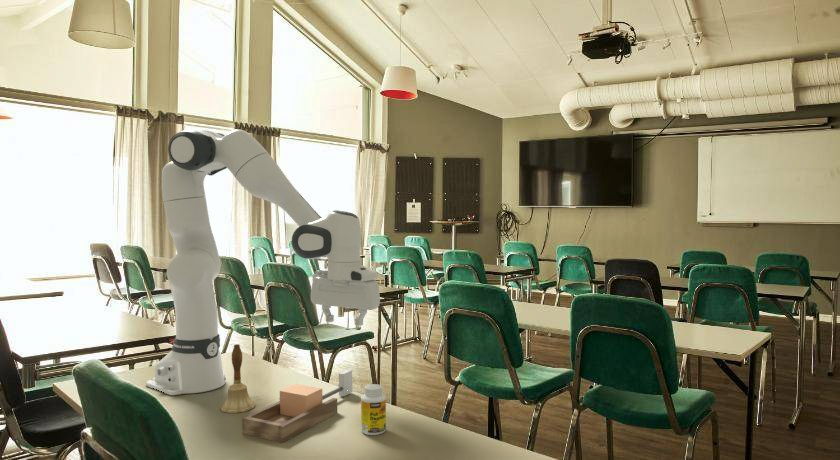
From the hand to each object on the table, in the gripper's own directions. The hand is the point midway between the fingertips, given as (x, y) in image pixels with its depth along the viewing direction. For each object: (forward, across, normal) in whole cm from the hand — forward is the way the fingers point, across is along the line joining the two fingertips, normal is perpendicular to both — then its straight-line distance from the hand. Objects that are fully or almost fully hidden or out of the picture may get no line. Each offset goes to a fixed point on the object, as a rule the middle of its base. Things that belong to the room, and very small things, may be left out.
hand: (344, 323), depth 155 cm
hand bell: (+20, -18, -20) cm, 34 cm away
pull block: (+19, 0, -10) cm, 21 cm away
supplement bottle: (+19, +20, -18) cm, 33 cm away
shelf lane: (+20, 0, -22) cm, 29 cm away
